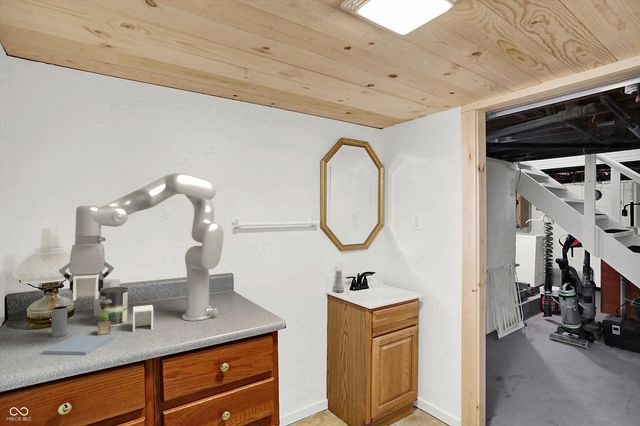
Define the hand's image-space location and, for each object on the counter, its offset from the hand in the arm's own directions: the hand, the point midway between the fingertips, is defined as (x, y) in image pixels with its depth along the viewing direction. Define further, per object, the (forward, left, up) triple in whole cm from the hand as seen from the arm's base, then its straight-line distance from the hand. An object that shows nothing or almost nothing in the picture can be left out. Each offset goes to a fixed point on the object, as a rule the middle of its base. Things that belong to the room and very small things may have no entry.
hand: (86, 291), depth 121 cm
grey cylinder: (+15, -7, -18) cm, 25 cm away
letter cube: (0, -10, -18) cm, 21 cm away
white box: (0, 0, -2) cm, 2 cm away
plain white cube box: (-11, -17, -18) cm, 27 cm away
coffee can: (+4, -22, -18) cm, 29 cm away
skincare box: (+14, -33, -18) cm, 40 cm away
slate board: (0, +3, -18) cm, 18 cm away
